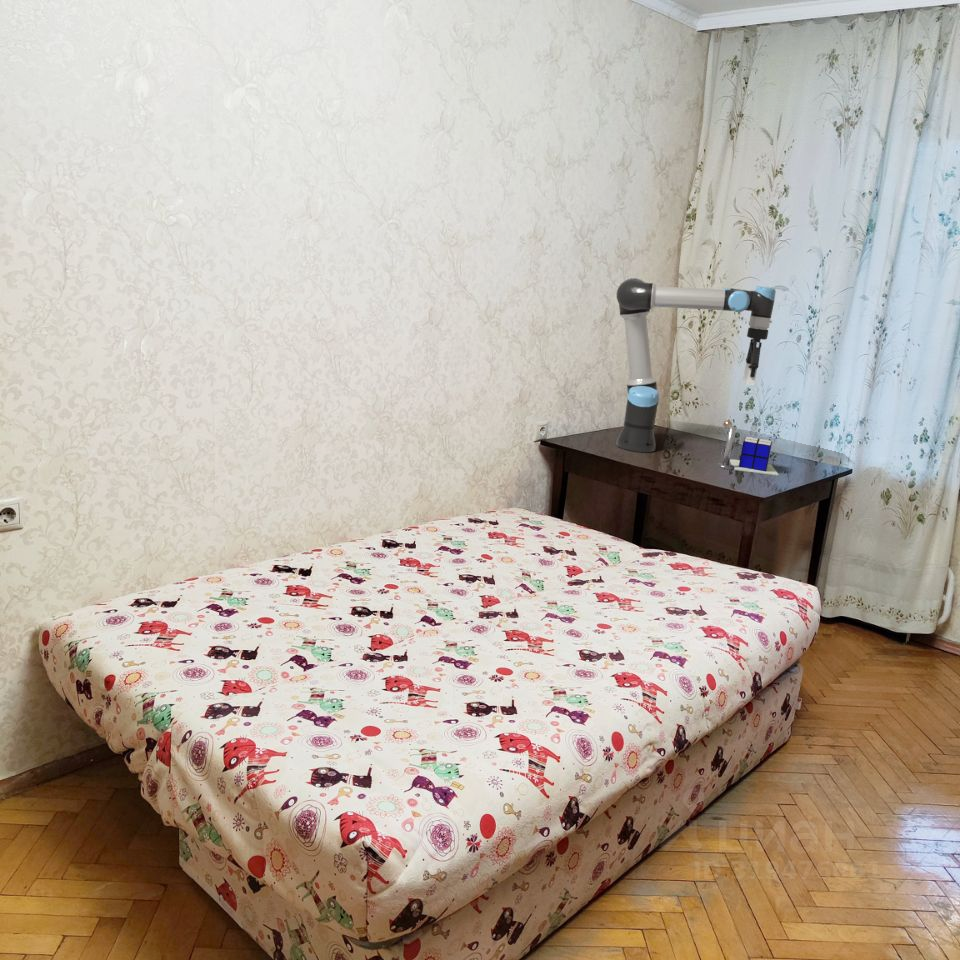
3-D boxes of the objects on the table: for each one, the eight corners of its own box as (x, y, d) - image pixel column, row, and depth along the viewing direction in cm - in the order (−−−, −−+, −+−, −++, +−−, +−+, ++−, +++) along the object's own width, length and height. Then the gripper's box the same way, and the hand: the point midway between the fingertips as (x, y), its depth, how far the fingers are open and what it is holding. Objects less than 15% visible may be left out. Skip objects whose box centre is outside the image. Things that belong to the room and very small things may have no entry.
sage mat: (734, 469, 330) (734, 468, 330) (728, 459, 345) (729, 458, 345) (778, 475, 328) (778, 474, 328) (771, 465, 343) (771, 464, 343)
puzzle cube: (738, 466, 333) (743, 440, 331) (740, 461, 342) (745, 436, 340) (766, 471, 330) (771, 445, 328) (767, 466, 339) (772, 440, 337)
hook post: (718, 468, 329) (725, 427, 325) (713, 457, 346) (720, 418, 342) (734, 470, 329) (742, 429, 324) (728, 459, 345) (735, 420, 341)
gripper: (772, 332, 329) (761, 388, 334) (764, 326, 352) (754, 379, 358) (752, 329, 330) (741, 386, 335) (745, 324, 353) (735, 377, 359)
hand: (748, 382), depth 347 cm, fingers open, 13 cm apart
